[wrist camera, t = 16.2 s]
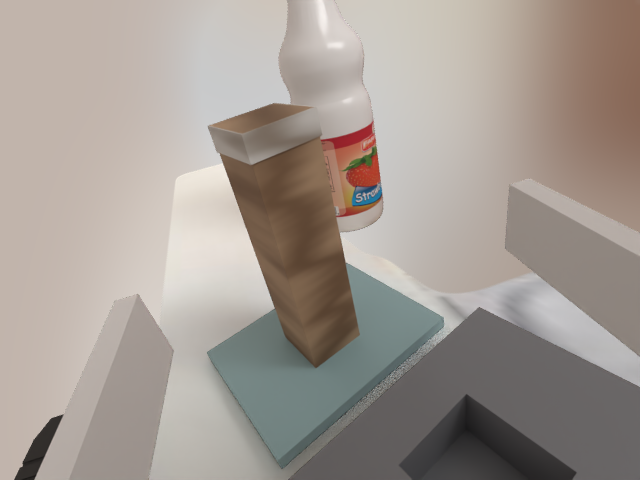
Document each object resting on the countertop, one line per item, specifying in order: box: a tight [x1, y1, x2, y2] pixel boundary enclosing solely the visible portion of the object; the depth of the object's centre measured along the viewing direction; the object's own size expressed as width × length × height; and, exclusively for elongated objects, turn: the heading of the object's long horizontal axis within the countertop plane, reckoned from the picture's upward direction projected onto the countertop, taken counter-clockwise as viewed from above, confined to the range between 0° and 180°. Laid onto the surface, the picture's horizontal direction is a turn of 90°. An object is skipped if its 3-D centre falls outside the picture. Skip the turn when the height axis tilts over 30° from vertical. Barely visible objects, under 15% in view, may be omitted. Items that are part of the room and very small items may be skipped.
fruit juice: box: [279, 0, 383, 232], centre depth 41 cm, size 9×9×28 cm
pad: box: [207, 263, 444, 468], centre depth 30 cm, size 16×12×1 cm
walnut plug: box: [208, 103, 360, 368], centre depth 25 cm, size 5×5×18 cm
